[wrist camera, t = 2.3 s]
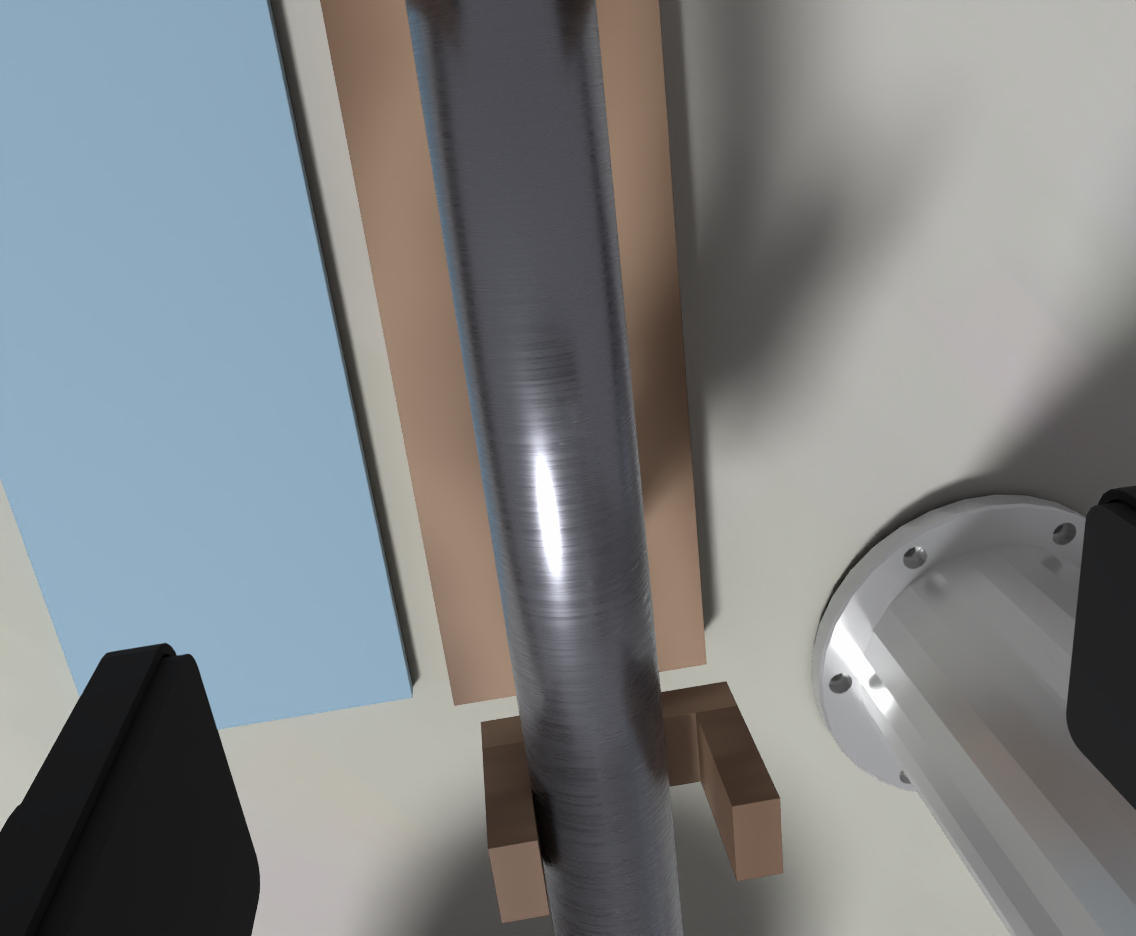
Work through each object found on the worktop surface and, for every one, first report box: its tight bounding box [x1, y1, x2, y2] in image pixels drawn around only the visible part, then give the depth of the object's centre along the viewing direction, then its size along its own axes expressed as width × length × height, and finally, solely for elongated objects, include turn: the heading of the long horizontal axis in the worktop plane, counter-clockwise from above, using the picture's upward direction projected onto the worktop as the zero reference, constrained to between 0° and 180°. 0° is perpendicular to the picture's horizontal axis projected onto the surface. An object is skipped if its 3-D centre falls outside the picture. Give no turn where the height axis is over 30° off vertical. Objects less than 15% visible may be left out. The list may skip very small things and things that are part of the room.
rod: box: [405, 0, 684, 936], centre depth 19 cm, size 28×3×3 cm, turn 7°
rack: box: [320, 0, 783, 923], centre depth 24 cm, size 9×28×15 cm, turn 7°
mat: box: [0, 0, 413, 730], centre depth 29 cm, size 11×32×1 cm, turn 6°
